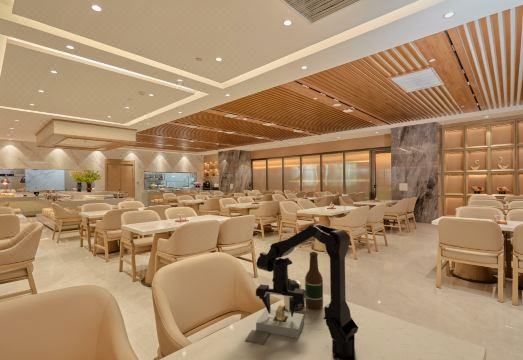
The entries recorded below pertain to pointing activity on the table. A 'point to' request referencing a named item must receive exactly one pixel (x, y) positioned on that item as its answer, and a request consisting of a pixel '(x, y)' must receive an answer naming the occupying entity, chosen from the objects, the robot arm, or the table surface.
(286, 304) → the medicine bottle
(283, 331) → the grey socket block
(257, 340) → the pad
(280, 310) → the t key
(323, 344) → the table surface
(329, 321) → the robot arm
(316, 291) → the beer bottle
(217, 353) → the table surface
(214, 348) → the table surface
